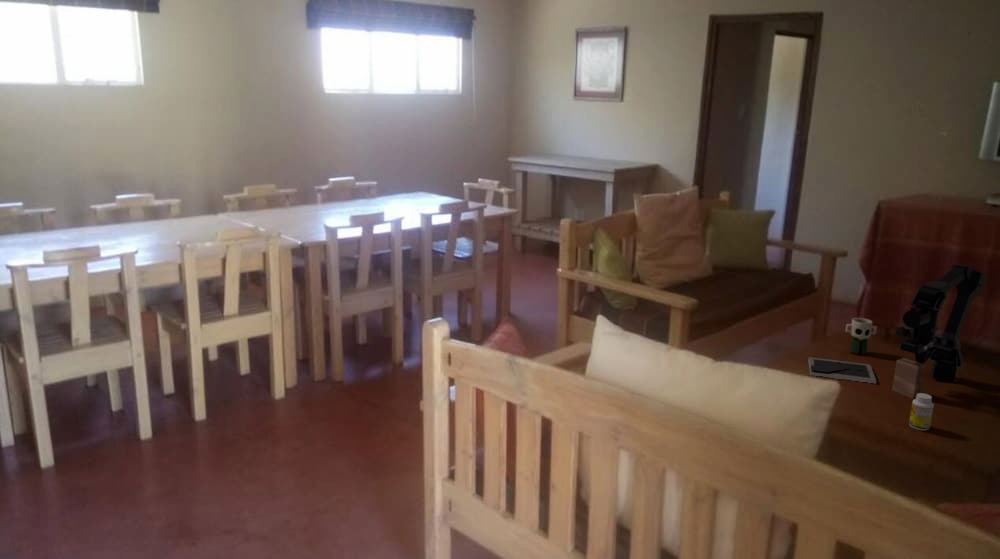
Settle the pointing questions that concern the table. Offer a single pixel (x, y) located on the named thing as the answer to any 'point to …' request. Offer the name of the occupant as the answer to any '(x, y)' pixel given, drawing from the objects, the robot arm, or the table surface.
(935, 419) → the table surface
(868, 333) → the character mug
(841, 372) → the picture frame
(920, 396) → the supplement bottle
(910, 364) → the streaky grey slab
